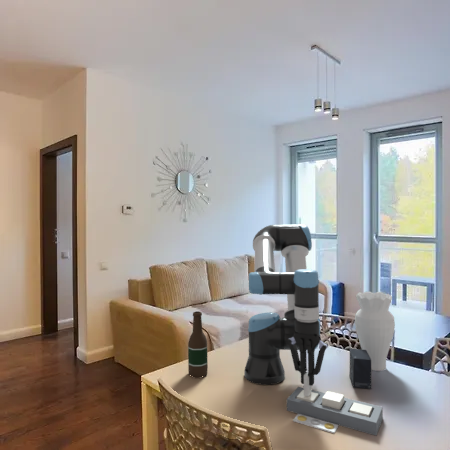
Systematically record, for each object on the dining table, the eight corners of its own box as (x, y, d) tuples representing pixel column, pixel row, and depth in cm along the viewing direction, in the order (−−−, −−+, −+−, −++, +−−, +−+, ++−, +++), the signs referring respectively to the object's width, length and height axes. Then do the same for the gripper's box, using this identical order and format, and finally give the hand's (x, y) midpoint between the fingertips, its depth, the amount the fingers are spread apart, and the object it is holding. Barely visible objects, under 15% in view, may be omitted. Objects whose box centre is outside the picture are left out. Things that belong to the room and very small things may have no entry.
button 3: (349, 418, 105) (349, 409, 105) (354, 410, 109) (353, 402, 109) (368, 423, 102) (368, 414, 102) (372, 414, 106) (372, 406, 106)
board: (286, 410, 113) (286, 399, 113) (298, 397, 121) (298, 386, 121) (376, 435, 99) (376, 422, 99) (382, 418, 107) (382, 406, 107)
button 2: (322, 405, 109) (322, 397, 109) (327, 398, 114) (327, 390, 114) (339, 410, 106) (339, 402, 106) (344, 402, 111) (344, 394, 111)
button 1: (296, 404, 113) (296, 396, 113) (302, 397, 118) (302, 389, 118) (313, 408, 111) (313, 400, 111) (318, 401, 115) (318, 393, 115)
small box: (372, 389, 126) (372, 359, 126) (352, 388, 127) (352, 358, 127) (367, 376, 136) (366, 348, 136) (348, 375, 138) (348, 347, 138)
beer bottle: (184, 376, 139) (183, 313, 139) (193, 368, 146) (192, 309, 146) (202, 379, 136) (201, 315, 136) (211, 371, 143) (210, 310, 143)
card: (293, 421, 107) (293, 419, 107) (298, 415, 110) (298, 413, 110) (334, 433, 100) (334, 431, 100) (338, 426, 103) (338, 424, 103)
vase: (375, 377, 135) (374, 299, 135) (347, 363, 149) (346, 292, 149) (404, 370, 141) (403, 295, 141) (374, 358, 155) (373, 289, 154)
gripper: (282, 319, 114) (283, 394, 115) (323, 325, 107) (324, 404, 108) (291, 314, 121) (292, 385, 121) (331, 319, 114) (332, 394, 114)
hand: (307, 394), depth 114 cm, fingers closed
